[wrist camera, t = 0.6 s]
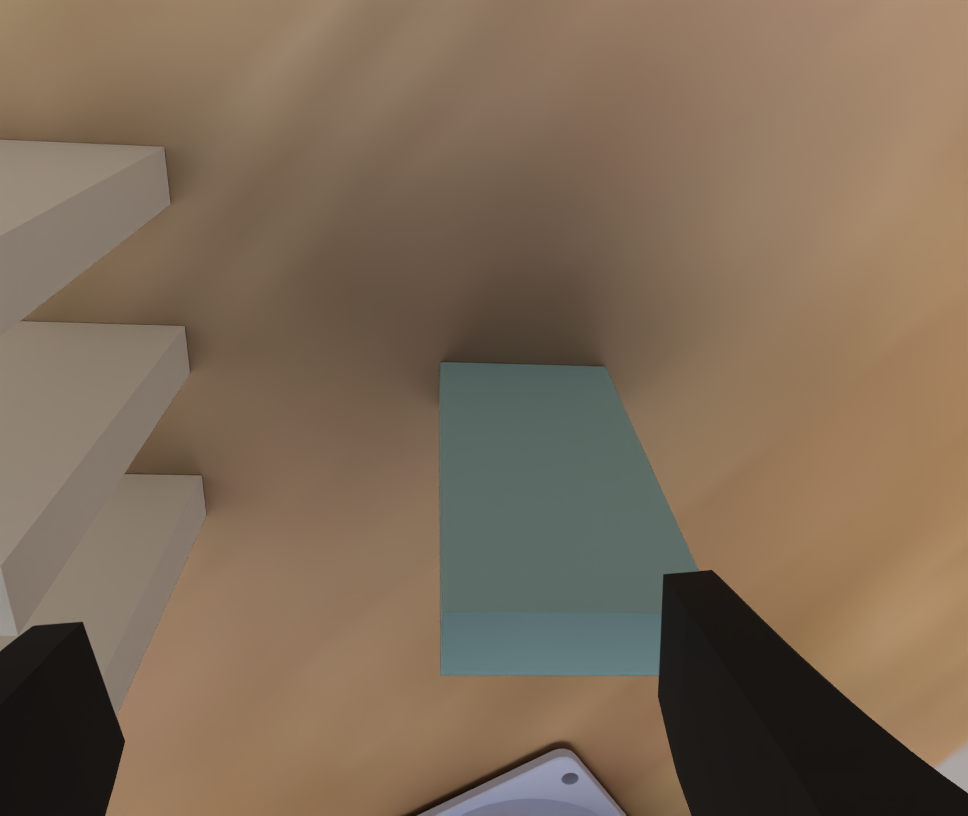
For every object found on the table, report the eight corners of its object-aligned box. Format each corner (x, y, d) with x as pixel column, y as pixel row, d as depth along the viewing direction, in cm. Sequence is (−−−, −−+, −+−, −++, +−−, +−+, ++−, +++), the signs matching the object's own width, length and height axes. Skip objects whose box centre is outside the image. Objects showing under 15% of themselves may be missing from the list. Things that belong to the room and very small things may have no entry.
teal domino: (600, 410, 21) (703, 675, 13) (439, 407, 20) (440, 675, 12) (605, 366, 20) (717, 613, 12) (440, 361, 20) (442, 612, 12)
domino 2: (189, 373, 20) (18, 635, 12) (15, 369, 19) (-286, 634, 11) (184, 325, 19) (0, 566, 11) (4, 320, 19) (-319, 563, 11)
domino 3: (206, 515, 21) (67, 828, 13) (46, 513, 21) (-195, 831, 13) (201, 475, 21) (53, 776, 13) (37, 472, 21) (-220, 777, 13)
